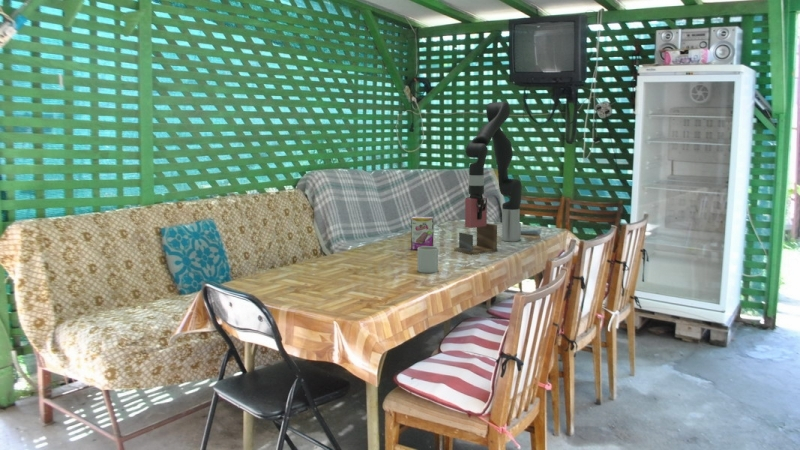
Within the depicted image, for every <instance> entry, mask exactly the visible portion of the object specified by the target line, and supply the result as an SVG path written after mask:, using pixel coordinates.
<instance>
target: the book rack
mask: <svg viewBox="0 0 800 450" xmlns="http://www.w3.org/2000/svg"><path fill="white" fill-rule="evenodd" d="M458 240H459V241H458V244H459V245H458V247H455V248H454V249H453V250H454V252H457V251H458V253H461V252H462V254H465V253H466V255H469V256H470V255H471V256H472V254H473V255H479V253H480V254H486V253H494V252H498V225H497V224H492V223H488V222H487V226H484V227H476V245H474V235H473V234H470V233H464V232H458Z"/></svg>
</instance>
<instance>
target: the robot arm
mask: <svg viewBox="0 0 800 450" xmlns="http://www.w3.org/2000/svg"><path fill="white" fill-rule="evenodd" d="M510 114H511V108H510V104H509V103H508V102H506V101H496V102H494V101H493V102H489V103H488V104H487V106H486V118H487V121H488V122H487V123H486V124H484V125H483V126H482V127H481V128H480V129H479V131H478V133H477V135H476V136H475V137H474V138H473V139H472V140H470V142H468V144H467V145H466V147H465V154H466V156H467V157H468V158H471V159H472V158H473V159H476V158H477V160H476V161H475V162H471V163H470V164H469V166H468V167H469V171H468V194H469V196H468V197H466V198H474V199H477V202H476V207H477V211H478V212H477V219H478V220H481V219H482V211H485V208H486V203H487V204H488V198H487V199H483V198H484V197H483V195H484V194H485V175H484V174H485V173H484V170H485V164H486V159H487V156H488V153H489V152H488V151H489V150H488V149H489V148H488V146H489V144H490V142H491V140H492V142H493V151H494V156H495V160H496V168H497V169H496V170H497V180H498V190H499V192H500V194H501V195H502V196H506V197H509V200H508V201H506V202H503V203H502V207H501V210H502V212H501V216H502V217H501V218H502V219H501V241H503V242H518V241H521V236H522V234H521V232H522V231H521V230H522V223H521V222H520V215H521V214H520V213H521V212H520V209H521V208H520V207H521V202H522V190H523V188H522V181H520V179H518V178H516V179H515V178H509V175H508V171H509V166H510V163H512V159H513V156H514V154H513V146H512V143H511V140H510V138H509V137H508V136H507V135H506V134H505V133H504V131H503V130H502V128H501V126H502V125H503V124H505V122H506V120H507V119H508V118H509V116H510ZM478 204H481V205H478ZM479 207H480V209H479Z"/></svg>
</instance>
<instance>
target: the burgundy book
mask: <svg viewBox="0 0 800 450" xmlns="http://www.w3.org/2000/svg"><path fill="white" fill-rule="evenodd" d="M483 199H487V200H488V198H487V197H483ZM464 202H465V205H464V209H465V210H464V228H469V229H472V228H473V229H474V228H477V227H484V226H487V223H488V221H487V219H488V214H487V213H488V211H487V210H488V202H487V203H486V208H485V211H482V219H481V220H478V219H477V212H478V211H477V207H476V202H477V199H474V198H467V197H465V199H464ZM478 205H481V204H478ZM479 209H480V207H479Z"/></svg>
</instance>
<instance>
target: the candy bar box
mask: <svg viewBox="0 0 800 450" xmlns="http://www.w3.org/2000/svg"><path fill="white" fill-rule="evenodd" d="M434 218H435V217H433V216H412V217H411V219H410V220H411V221H410V222H411V225H410V228H411V230H410V232H411V235H410V238H411V239H410V249H411V250H412V251H417V248H418V247H422V246H434V245H435V244H434V240H435V239H434V238H435V237H434V232H435V231H434V224H435V222H434V221H435V220H434ZM434 247H435V246H434Z"/></svg>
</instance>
